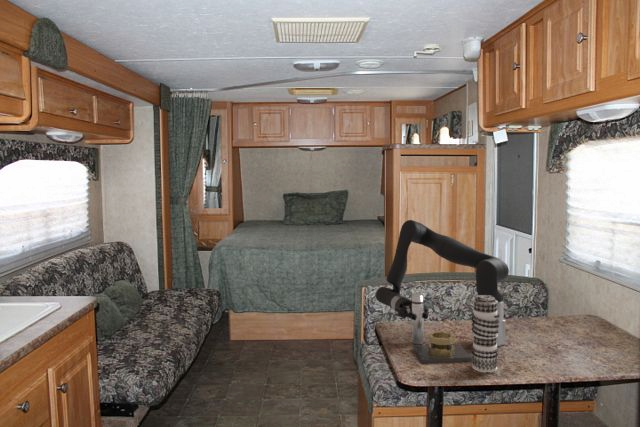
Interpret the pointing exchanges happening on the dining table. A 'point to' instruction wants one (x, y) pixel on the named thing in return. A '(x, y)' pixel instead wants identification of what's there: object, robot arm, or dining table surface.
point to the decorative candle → (485, 333)
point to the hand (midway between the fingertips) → (420, 317)
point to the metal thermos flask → (417, 319)
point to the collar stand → (441, 349)
